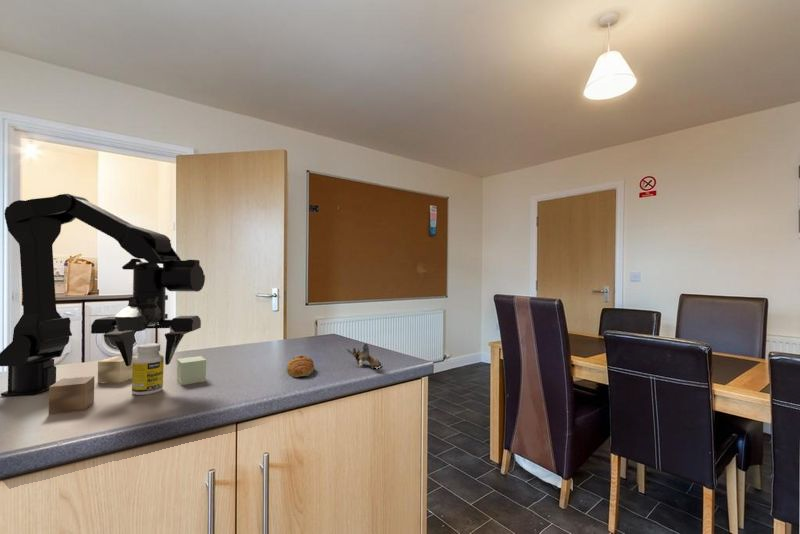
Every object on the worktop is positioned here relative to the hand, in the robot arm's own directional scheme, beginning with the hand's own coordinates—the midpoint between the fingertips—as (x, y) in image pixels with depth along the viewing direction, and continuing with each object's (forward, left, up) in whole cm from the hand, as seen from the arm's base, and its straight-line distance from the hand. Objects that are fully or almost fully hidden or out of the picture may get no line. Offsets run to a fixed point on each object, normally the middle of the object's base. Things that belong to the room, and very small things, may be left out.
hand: (148, 365), depth 77 cm
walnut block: (-9, -8, -6) cm, 13 cm away
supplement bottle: (0, 0, -6) cm, 6 cm away
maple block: (-11, +10, -6) cm, 16 cm away
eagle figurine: (+47, +14, -6) cm, 50 cm away
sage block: (+6, +7, -6) cm, 11 cm away
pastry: (+31, +10, -6) cm, 33 cm away
